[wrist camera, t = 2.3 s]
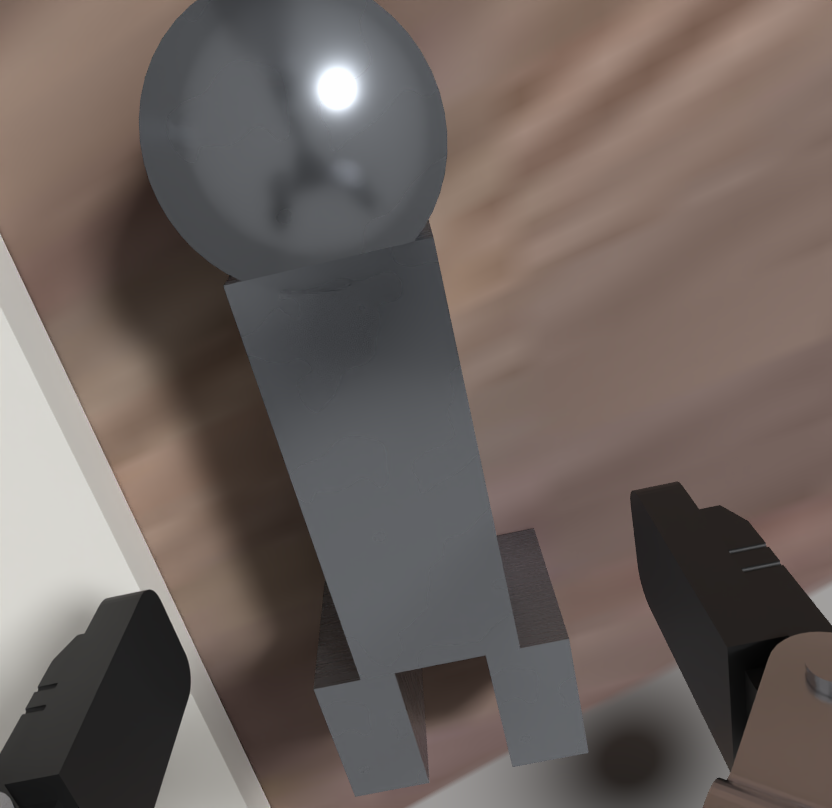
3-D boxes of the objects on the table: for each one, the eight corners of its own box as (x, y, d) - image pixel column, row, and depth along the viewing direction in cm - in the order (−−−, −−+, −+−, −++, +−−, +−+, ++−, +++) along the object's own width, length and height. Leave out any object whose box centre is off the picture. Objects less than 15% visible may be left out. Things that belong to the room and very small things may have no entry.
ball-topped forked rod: (138, 30, 14) (54, 24, 10) (429, -43, 14) (446, -76, 10) (359, 669, 21) (355, 796, 18) (552, 630, 21) (588, 752, 17)
